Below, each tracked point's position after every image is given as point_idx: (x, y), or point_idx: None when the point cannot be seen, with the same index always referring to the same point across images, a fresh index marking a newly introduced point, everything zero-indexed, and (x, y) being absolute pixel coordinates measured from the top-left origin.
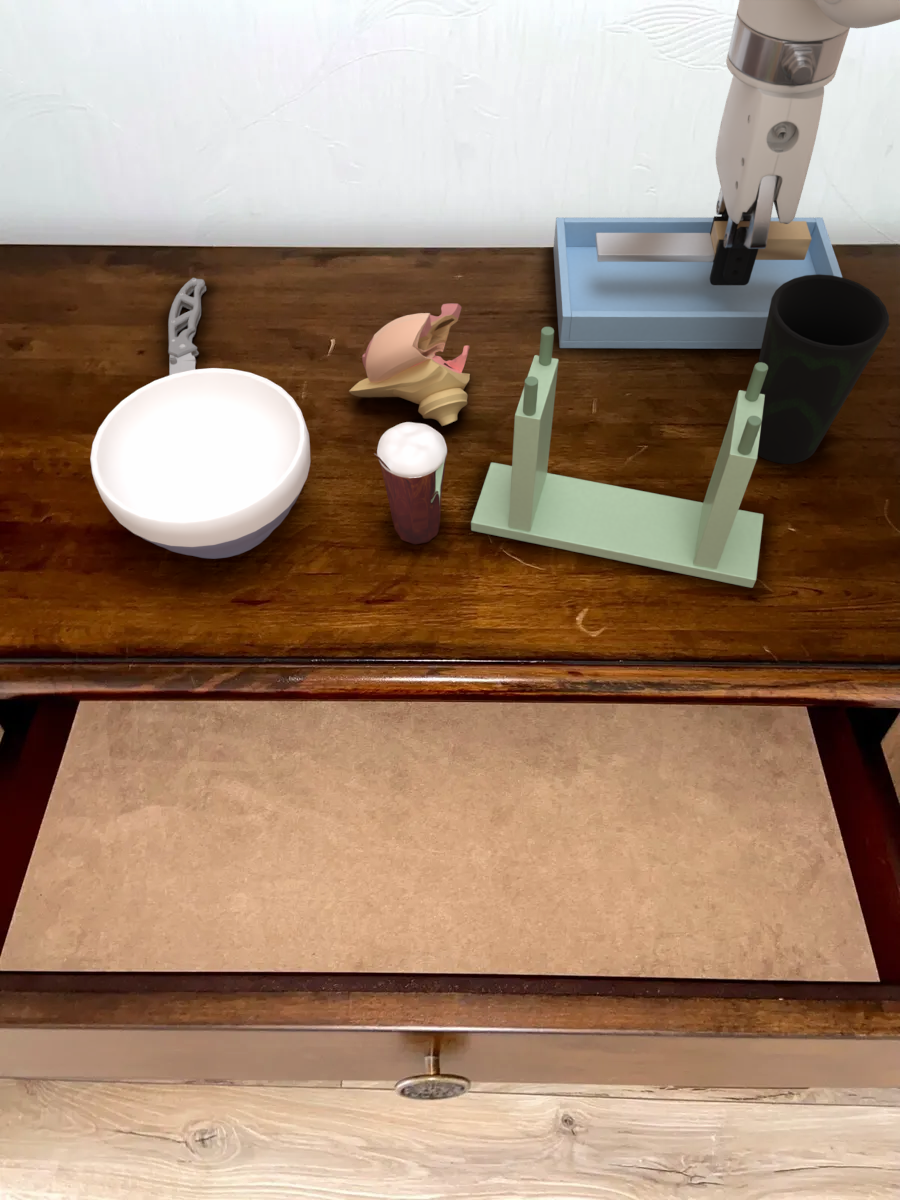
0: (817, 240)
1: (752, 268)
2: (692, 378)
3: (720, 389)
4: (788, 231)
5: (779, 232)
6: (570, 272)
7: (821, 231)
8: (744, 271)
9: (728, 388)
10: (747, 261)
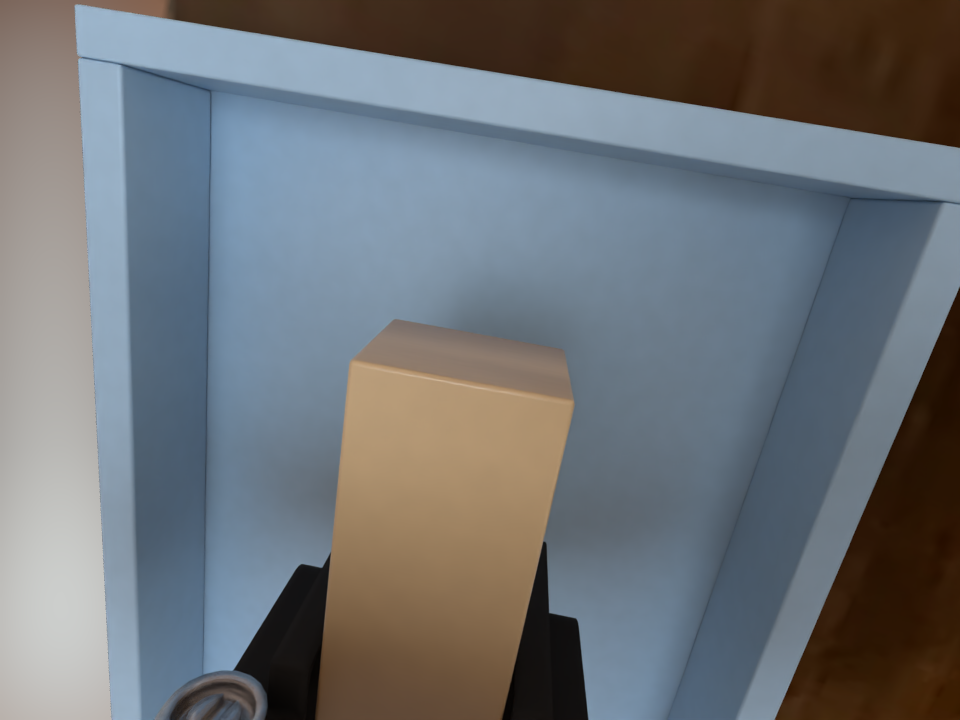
0: (252, 90)
1: (548, 594)
2: (827, 704)
3: (908, 651)
4: (458, 524)
5: (462, 584)
6: None
7: (210, 64)
8: (578, 649)
9: (914, 629)
10: (583, 699)
